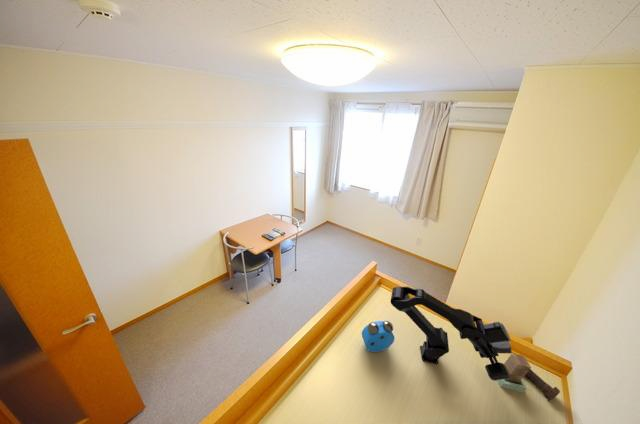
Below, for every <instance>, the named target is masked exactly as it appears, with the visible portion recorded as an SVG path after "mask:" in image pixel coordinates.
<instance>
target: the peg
mask: <svg viewBox="0 0 640 424" xmlns="http://www.w3.org/2000/svg"><path fill="white" fill-rule="evenodd" d="M503 364H504V366H505V367H506V369H507V371H508V373H509V375H510V377H509V378H506V379H504V380H505V381H506V382H511V383H515V384H518V383H519V382H520V381H521V379H522V380H523V378H524V377H525V376H526V374H527V372H528V371H529V370H530V369H531V368H532V367H531V365H530V363H529V361H528V360H527V358H526V356H525V355H522V354H521V355H520V354H516V353H513V352H512V353H510V355H509V356H508V358H507V360H505V362H504V363H503ZM531 370H532V369H531Z"/></svg>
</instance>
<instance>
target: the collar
mask: <svg viewBox="0 0 640 424" xmlns="http://www.w3.org/2000/svg"><path fill="white" fill-rule="evenodd" d="M497 381H498V384H499V387H500V388H504V389H507V390H512V391H516V392H520V393H525V391H526V390H527V389H528V388H527V386H526V384H525V382H524V381H523V378H522V379H521V381H520V382H519V383H518V384H515V383H511V382H506V381H505V380H504V379H501V380H497Z"/></svg>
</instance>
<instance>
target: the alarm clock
mask: <svg viewBox="0 0 640 424" xmlns="http://www.w3.org/2000/svg"><path fill="white" fill-rule="evenodd" d="M393 331H394V326H393V324H392V322H390V320H389V321H388V320H383V321H382V320H376V321H372V322H370V323H369V324H367V325H365V327H364V328H363V329H362V331H361V338H362V340H363V342H364V346H365V348H366V350H368V351H369V352H371V353H376V352H378V353H379V352H382V351H385V350H387V349H389V348H390V347H391V346H392V345H393V344H394V342H395V335H394V332H393Z"/></svg>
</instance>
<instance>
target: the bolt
mask: <svg viewBox="0 0 640 424" xmlns="http://www.w3.org/2000/svg"><path fill="white" fill-rule="evenodd" d="M525 376H527V378H528V379H530V381H531V382H533V383H534V384H535V385H536V386H537V387H538V388H539V389H541V391H542V392H544V393H545V394H544V395H545V396H544V397H545V399H547V400H548V401H552V400H554V399H555V398H556V397H557V396H558V395H559V394H560V393H561V391H560V389H559V388H558V387H557V386H554V387H552V386H551V385H550V384H549V383H547V382H546V381H545V380H544V379H542V378H541V377H540V376H539V375H538V374H537V373H535V372H534V371H533V370H532V369H530V370H529V371H528V372H527V374H526V375H525Z"/></svg>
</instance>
